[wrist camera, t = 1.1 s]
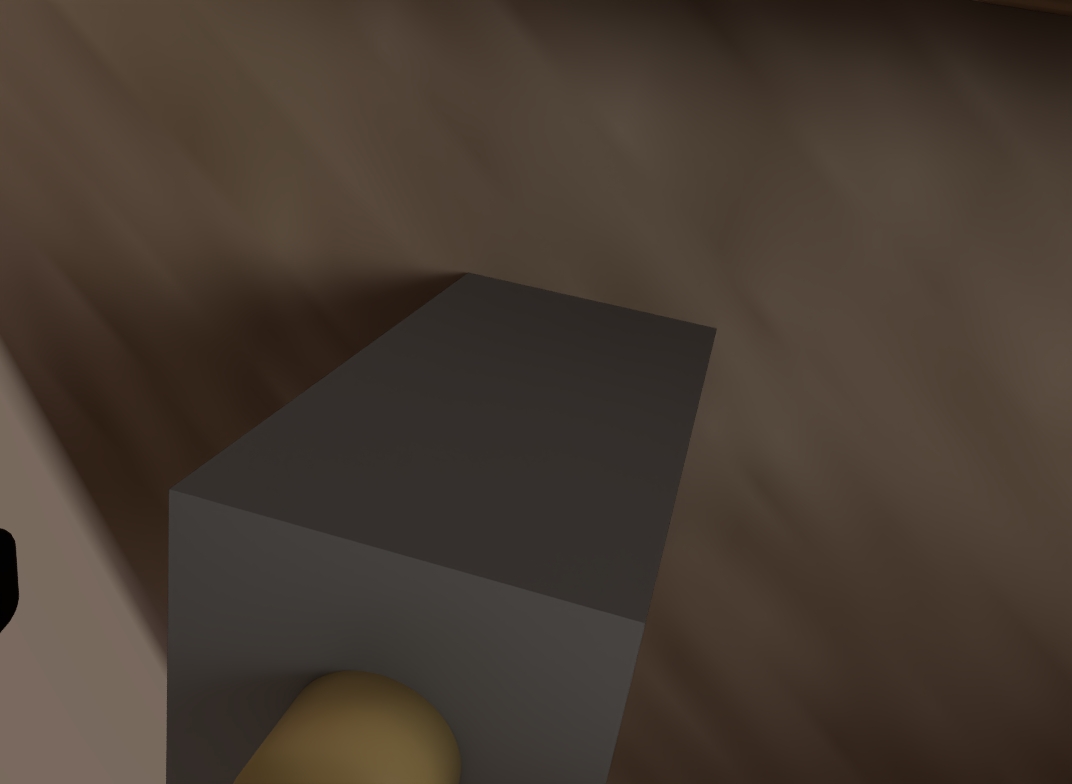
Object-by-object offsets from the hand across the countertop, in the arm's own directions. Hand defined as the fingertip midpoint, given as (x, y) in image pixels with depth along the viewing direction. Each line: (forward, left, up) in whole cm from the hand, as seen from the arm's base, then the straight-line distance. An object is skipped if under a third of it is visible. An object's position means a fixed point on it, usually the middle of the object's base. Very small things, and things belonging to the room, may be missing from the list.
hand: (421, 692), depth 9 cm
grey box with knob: (0, 0, -7) cm, 7 cm away
